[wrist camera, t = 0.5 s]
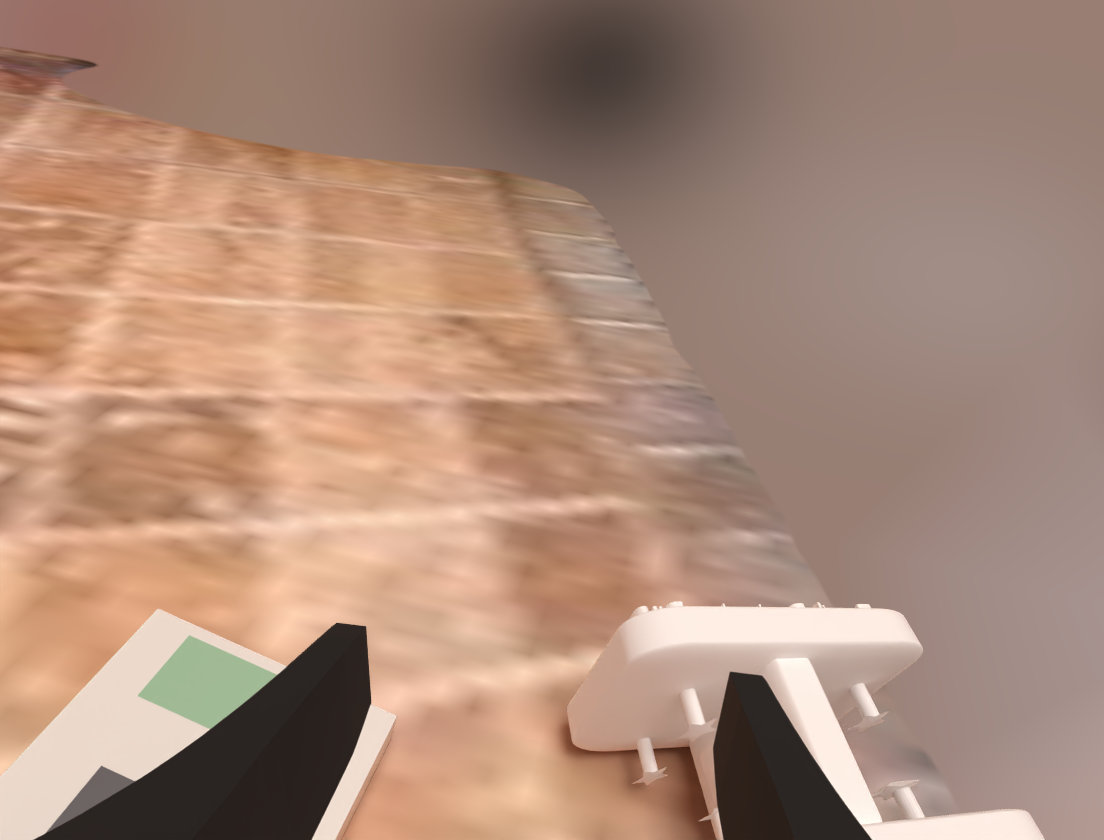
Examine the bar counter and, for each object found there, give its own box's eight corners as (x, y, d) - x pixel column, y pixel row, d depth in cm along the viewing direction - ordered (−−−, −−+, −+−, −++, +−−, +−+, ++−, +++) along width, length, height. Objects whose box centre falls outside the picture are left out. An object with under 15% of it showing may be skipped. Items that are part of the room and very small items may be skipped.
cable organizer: (591, 975, 26) (715, 908, 19) (552, 711, 34) (629, 588, 26) (887, 925, 30) (1084, 856, 23) (794, 702, 38) (919, 594, 30)
